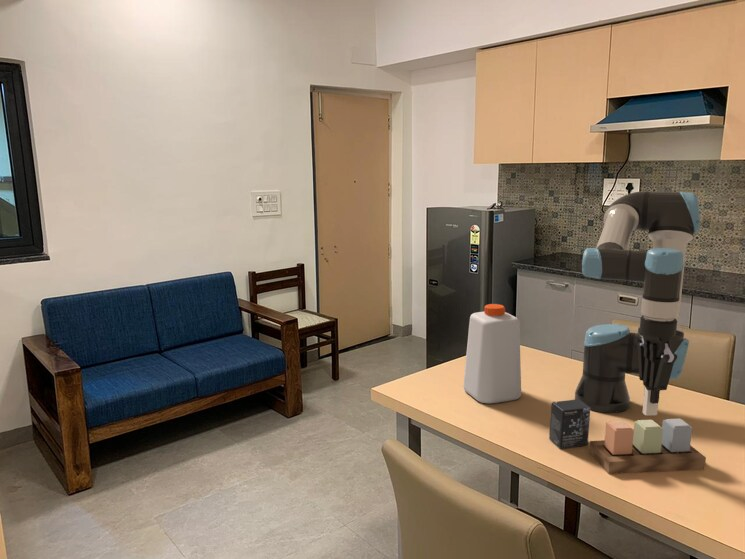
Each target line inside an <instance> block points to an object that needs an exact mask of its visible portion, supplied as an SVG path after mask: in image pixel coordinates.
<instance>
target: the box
mask: <svg viewBox="0 0 745 559" xmlns="http://www.w3.org/2000/svg"><path fill="white" fill-rule="evenodd" d="M550 407H551V409H550V420H549V421H550V422H549V433H548V434H549V436H548V440H550V441H551V442H552V443H553V444H554V445H555V446H556V447H557V448H558V449H559V450H563V449H570V448H576V447H587V446H588V443H589V433H590V432H589V430H590V419H591V410H590V407H589V406H587V405H586V404H585V403H583V402H582V401H580V400H579V399H575V398H574V399H567V400H560V401H551V406H550Z"/></svg>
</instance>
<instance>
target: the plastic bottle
mask: <svg viewBox="0 0 745 559" xmlns="http://www.w3.org/2000/svg"><path fill="white" fill-rule="evenodd" d="M483 308H484V309H483V311H478V312H473V313H472V314H470V317H469V322H468V323H469V324H468V335H467V346H466V353H465V354H466V356H465V366H464V376H463V385H462V386H463V390H464V391H465V392H466V393H467V394H469V395H470V396H471V397H473V398H474V399H475V400H476V401H477V402H479V403H483V404H488V405H489V404H490V405H491V404H498V403H504V402H511V401H515V400H518V399H519V398H520V397H521V396H522V374H521V373H522V369H521V339H520V338H521V336H520V335H521V334H520V320H519V319H518V317H517V316H514V315H512V314H510V313H509V312H506V307H505V306H504V305H503V304H499V303H489V304H486V305H484V307H483Z"/></svg>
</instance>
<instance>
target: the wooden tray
mask: <svg viewBox="0 0 745 559" xmlns="http://www.w3.org/2000/svg"><path fill="white" fill-rule="evenodd" d="M604 442H605V439H604V440H590V441H589V454H590V455H591V456H592V457H593V458H594V459H595V460H596V461H597V463H598V464H599V465H600V466H601V467H602V468H603V469H604V471H605V472H606V473H607V475H608V474H609V475H612V474H615V475H616V474H632V473H633V474H634V473H635V474H636V473H649V472H650V473H651V472H652V473H655V472H676V471H693V470H694V471H697V470H705V468H706V461H707V457H706V456H705V455H703V454H702V453H701V452H700V451H698V450H697V449H696V448H695V447H693V446H692V444H690V451H683V452H671V451H669V450H668V449H667V448H666V447H665V446H664V445H663V444H662V445H661V453H641V452H640V451H639V450H638V449H637V448H636V447H635V446H634V445H632V454H616V455H613V454H612V453H611V452H610V451H609V450H608V449H607V448H606V447H605V446H604Z"/></svg>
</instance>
